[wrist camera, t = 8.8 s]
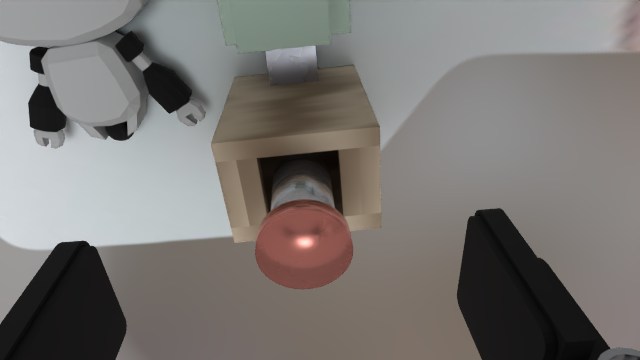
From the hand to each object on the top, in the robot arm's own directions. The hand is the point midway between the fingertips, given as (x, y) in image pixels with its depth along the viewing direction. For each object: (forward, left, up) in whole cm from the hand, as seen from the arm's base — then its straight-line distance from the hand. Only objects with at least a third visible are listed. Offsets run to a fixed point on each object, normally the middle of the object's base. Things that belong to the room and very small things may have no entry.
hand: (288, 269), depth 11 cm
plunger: (0, +4, -11) cm, 12 cm away
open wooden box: (0, +4, -20) cm, 21 cm away
